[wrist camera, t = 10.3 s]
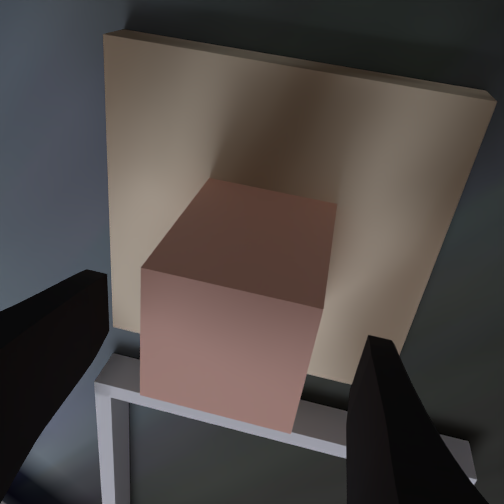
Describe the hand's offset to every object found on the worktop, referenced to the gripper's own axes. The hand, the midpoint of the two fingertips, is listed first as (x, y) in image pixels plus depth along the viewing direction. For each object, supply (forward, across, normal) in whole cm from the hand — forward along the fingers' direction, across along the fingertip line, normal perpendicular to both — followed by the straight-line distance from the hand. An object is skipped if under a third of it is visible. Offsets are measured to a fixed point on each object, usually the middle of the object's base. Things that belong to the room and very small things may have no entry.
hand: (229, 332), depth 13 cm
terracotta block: (+5, 0, 0) cm, 5 cm away
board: (+7, 0, 0) cm, 7 cm away
